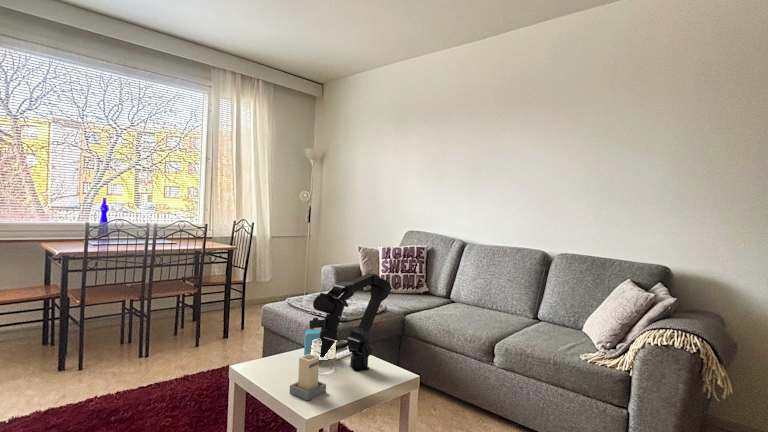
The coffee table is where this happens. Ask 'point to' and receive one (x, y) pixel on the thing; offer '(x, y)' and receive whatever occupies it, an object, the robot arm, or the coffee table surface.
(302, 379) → the kraft box
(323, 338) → the robot arm
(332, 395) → the coffee table surface
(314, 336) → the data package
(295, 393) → the tray
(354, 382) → the coffee table surface
